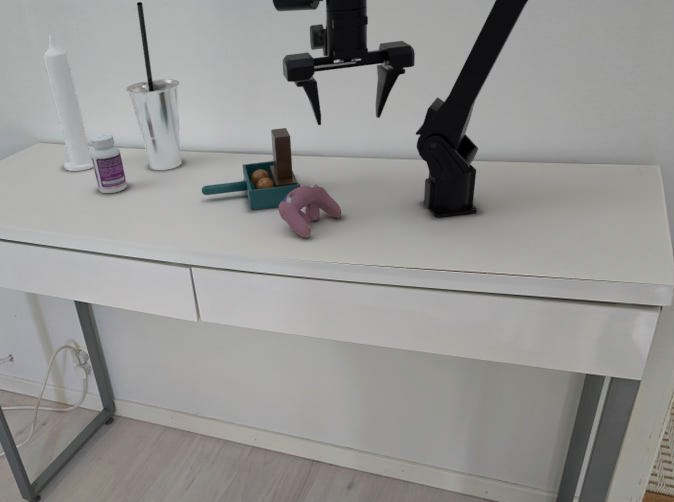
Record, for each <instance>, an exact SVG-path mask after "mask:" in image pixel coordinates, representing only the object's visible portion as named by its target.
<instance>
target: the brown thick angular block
mask: <svg viewBox="0 0 674 502" xmlns="http://www.w3.org/2000/svg"><path fill="white" fill-rule="evenodd" d="M270 133H271V144H272V145H271V147H272V159H273V160H272V161H273V162H274V165H273V166H270V175H271V180H272V181H273V182H274V184H275V187H280V186H289V185H297V184H299V182H298V180H297V177H296V175H295V172H294V171H293V160H292V159H293V157H292V147H291V146H292V143H291V135H290V133H289V130H288V129H287V128H286V127H281V128H274V129H270Z"/></svg>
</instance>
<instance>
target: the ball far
mask: <svg viewBox="0 0 674 502" xmlns="http://www.w3.org/2000/svg"><path fill="white" fill-rule="evenodd" d="M262 178H269V179H270V177H269V174H268V173H267V172H266V171H265V170H262V169H259V170H256V171H255V172H254V173H253V175H252V183H253V185H254V186H255V187H256V185H257V183H258V181H259V180H260V179H262Z"/></svg>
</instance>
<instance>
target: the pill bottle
mask: <svg viewBox="0 0 674 502" xmlns="http://www.w3.org/2000/svg"><path fill="white" fill-rule="evenodd" d="M90 142H91V146H92V148H93V149H92V150H91V151H90V154H91V159H92V163H93V171H94V175H95V180H96V183H97V186H98V190H99V191H100V192H101V193H104V194H115V193H118V192H121V191H123V190H125V189H126V188H127V186H128V184H127V179H126V174H125V173H126V172H125V169H124V164H123V160H122V155H121V150H120V149H119V147H118V146H116V145H115V140H114V136H113V134H108V133H107V134H106V133H105V134H99V135H95V136H93V137H91V139H90Z"/></svg>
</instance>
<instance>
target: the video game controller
mask: <svg viewBox="0 0 674 502" xmlns="http://www.w3.org/2000/svg"><path fill="white" fill-rule="evenodd" d="M302 209H304V211H303V210H302ZM321 210H322V211H323V212H324V213H326V214H327V215H328V216H330V217H332V218H335V219H339V218H340V217H341V216H342V208H341V207H340V205H339V203H338V202H337V201H336V200H335V199H334V198H333V197H332V196H330V194H329V193H328V192H327V190H325V189H324V188H323V187H322V186H319V184H318V183H314V184H307V185H306V184H305V185H302V186H301V185H300V187H298V188H296V189H294V190H293V191H291V192H290V193H289V194H288V195H287V196H286V197H285V198H284V199H283V201H281V203H280V204H279V207H278V213H279V216H280V218H281V219H282V220H283V221H284V222H286V224H287V225H288V226H289V228H290V229H291V230H292V231H293V232H294V233H296V234H297V235H299V237H302V238H304V239H307V238H309V237H310V236H311V228H310V226H309V221H310V222H314V221H317V220H318V219H320V216H321V212H320V211H321Z"/></svg>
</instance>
